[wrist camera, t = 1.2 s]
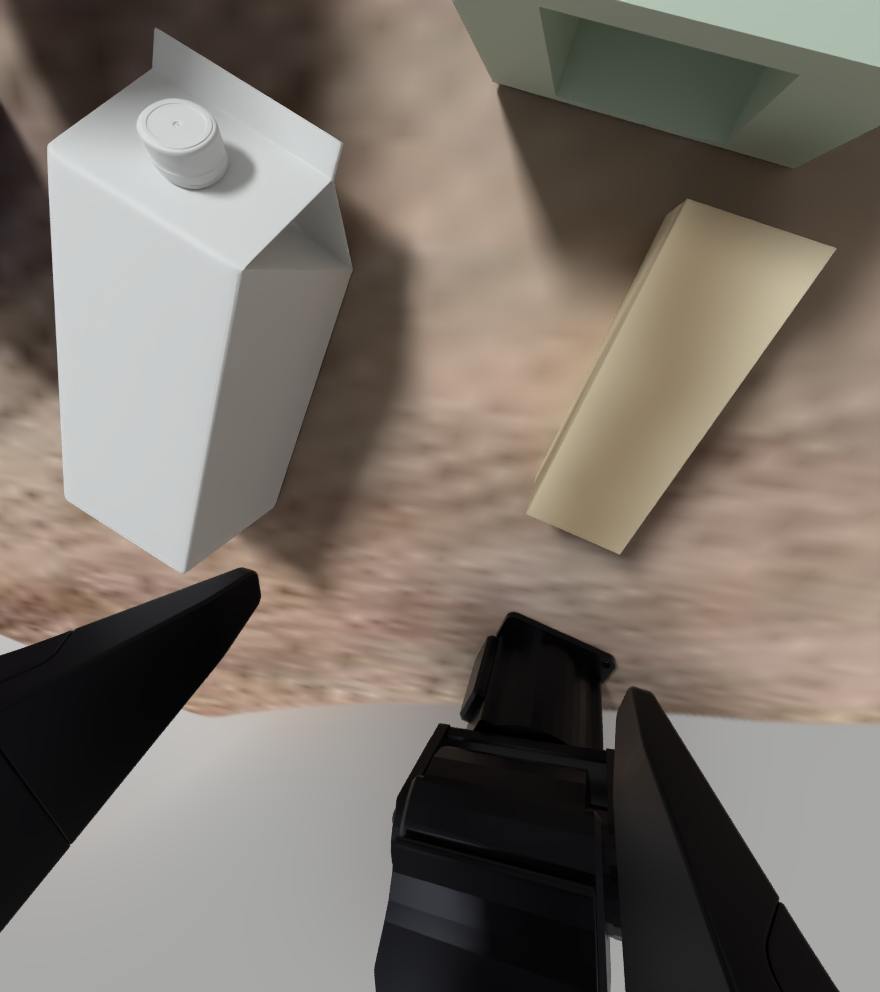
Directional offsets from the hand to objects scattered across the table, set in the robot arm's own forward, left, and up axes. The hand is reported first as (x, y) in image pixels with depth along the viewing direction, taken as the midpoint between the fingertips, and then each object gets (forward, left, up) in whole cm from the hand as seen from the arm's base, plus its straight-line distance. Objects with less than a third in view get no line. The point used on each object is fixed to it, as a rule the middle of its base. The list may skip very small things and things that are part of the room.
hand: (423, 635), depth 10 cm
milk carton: (+16, +9, -9) cm, 20 cm away
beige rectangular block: (-4, -5, -13) cm, 14 cm away
